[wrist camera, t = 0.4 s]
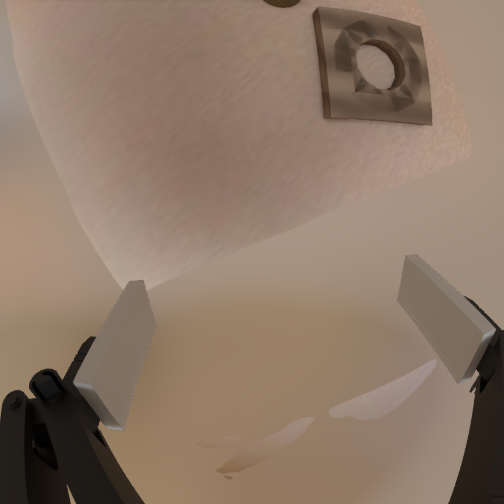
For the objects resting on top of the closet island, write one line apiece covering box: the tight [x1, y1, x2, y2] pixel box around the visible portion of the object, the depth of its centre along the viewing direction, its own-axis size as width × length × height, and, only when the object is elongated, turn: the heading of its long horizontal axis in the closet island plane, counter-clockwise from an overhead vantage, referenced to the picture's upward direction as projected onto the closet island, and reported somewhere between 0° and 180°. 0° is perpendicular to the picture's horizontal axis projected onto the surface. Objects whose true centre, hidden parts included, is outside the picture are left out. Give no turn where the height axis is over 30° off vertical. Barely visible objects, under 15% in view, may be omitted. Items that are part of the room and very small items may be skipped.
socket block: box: [313, 7, 432, 126], centre depth 29 cm, size 16×16×3 cm
